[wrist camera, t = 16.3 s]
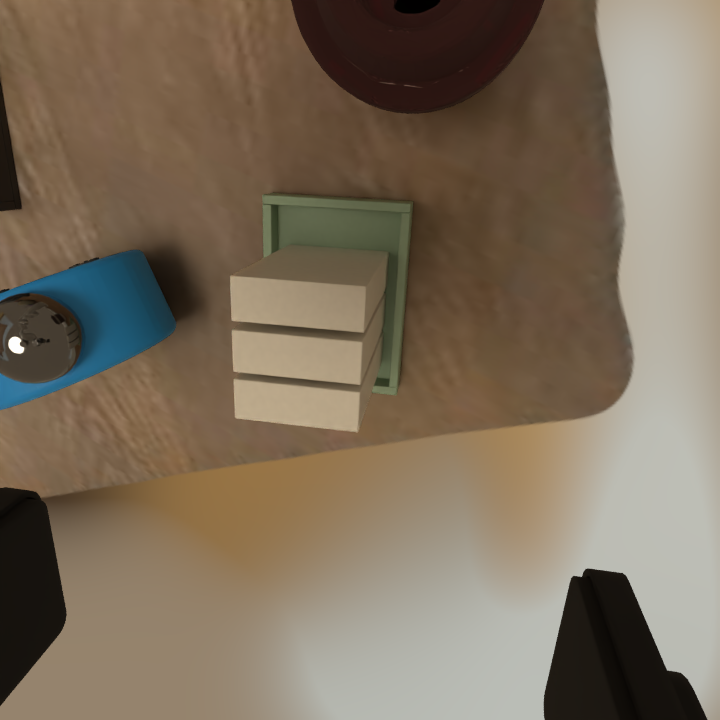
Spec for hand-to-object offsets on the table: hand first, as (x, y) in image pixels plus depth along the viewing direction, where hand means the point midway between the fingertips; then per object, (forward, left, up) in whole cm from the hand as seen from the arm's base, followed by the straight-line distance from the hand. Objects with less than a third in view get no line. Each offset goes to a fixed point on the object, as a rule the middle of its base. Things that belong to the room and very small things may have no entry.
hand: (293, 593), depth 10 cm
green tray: (+2, -5, -30) cm, 31 cm away
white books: (+4, -5, -30) cm, 30 cm away
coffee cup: (-14, 0, -31) cm, 34 cm away
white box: (0, -5, -30) cm, 30 cm away
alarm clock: (+4, -22, -31) cm, 38 cm away
